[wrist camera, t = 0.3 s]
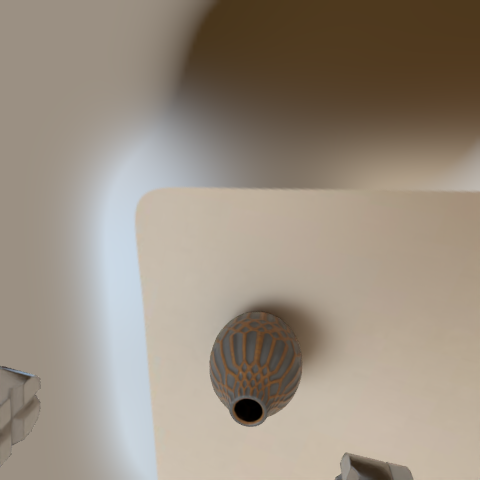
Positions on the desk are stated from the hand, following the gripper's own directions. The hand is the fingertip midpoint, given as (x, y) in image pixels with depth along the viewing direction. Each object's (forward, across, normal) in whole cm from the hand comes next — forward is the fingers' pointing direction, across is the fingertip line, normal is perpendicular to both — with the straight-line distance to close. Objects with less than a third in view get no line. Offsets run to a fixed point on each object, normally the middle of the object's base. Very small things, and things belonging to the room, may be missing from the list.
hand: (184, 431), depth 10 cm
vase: (+20, -2, +9) cm, 22 cm away
